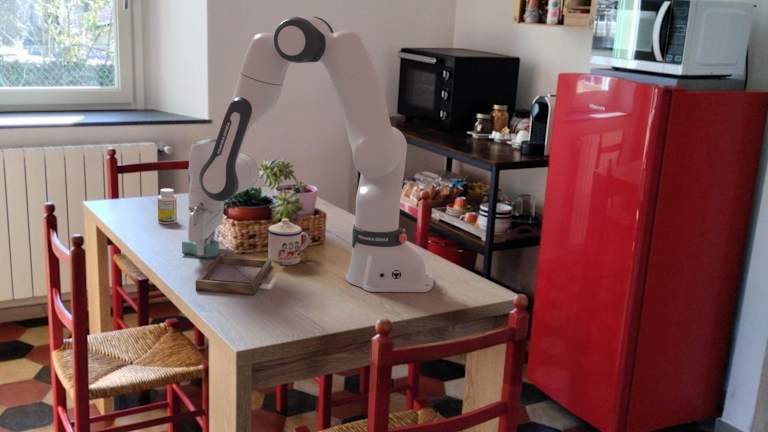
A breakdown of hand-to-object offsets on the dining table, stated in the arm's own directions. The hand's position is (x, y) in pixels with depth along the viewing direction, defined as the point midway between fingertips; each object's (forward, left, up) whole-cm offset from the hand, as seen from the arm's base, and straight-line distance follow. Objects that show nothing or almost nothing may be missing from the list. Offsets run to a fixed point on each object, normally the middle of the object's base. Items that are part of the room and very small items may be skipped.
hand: (205, 249), depth 218 cm
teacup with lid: (-22, -3, -2) cm, 22 cm away
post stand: (0, 0, -2) cm, 2 cm away
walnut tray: (-12, +16, -2) cm, 20 cm away
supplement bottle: (+21, -31, -2) cm, 37 cm away
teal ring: (+1, 0, -1) cm, 2 cm away
